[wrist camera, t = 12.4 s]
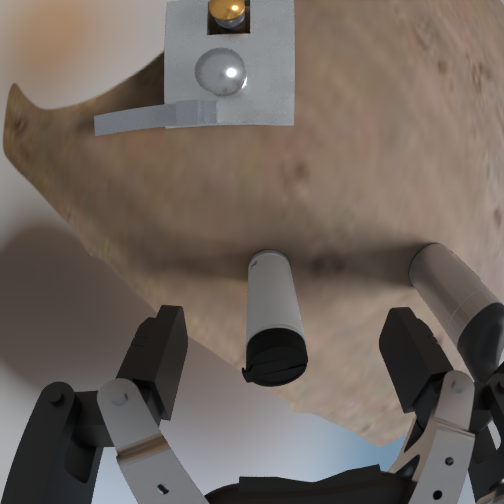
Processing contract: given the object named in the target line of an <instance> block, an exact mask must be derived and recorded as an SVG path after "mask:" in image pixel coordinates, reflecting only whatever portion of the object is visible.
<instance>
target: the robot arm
mask: <svg viewBox="0 0 504 504" xmlns="http://www.w3.org/2000/svg"><path fill="white" fill-rule="evenodd" d="M409 278H410V282H411V283H412V285H413V286H414V287H415V289H416V290H417V291H418V293H419V294H420V296H421V297H422V298H423V300H424V301H425V303H426V304H427V305H428V307H429V308H430V310H431V311H432V312H433V314H434V315H435V317H436V318H437V320H438V321H439V322H440V324H441V325H442V327H443V328H444V330H445V331H446V333H447V334H448V336H449V337H450V339H451V340H452V342H453V344H454V345H455V347H456V348H457V350H458V352H459V353H460V355H461V357H462V358H463V360H464V363H465V365H466V366H467V368H468V370H469V372H470V374H471V375H472V377H473V379H474V381H475V382H473V380H472V379H471V377H470V376H469V375H467V374H466V373H464V372H462V371H459V370H454V369H453V367H452V365H451V364H450V362H449V360H448V358H447V357H446V355H445V353H444V351H443V350H442V348H441V346H440V345H439V344H438V341H437V340H436V338H435V337H434V335H433V333H432V331H431V330H430V328H429V327H428V326H427V325H426V324H425V323H424V322H423V321H422V320H420V319H417V318H416V316H415V315H414V313H413V311H412V310H411V309H410V308H409V307H398V308H391V309H390V311H389V313H388V316H387V318H386V321H385V324H384V327H383V329H382V332H381V335H380V338H379V349H380V352H381V355H382V357H383V359H384V362H385V364H386V367H387V369H388V372H389V374H390V377H391V380H392V382H393V385H394V387H395V390H396V393H397V395H398V398H399V401H400V404H401V406H402V409H403V412H404V414H405V413H409V412H414V411H415V414H416V416H415V417H414V419H413V421H412V424H411V426H410V429H409V432H408V434H407V437H406V439H405V441H404V444H403V446H402V448H401V451H400V453H399V455H398V457H397V459H396V461H395V462H394V463H393V464H392V466H391V467H390V469H389V470H388V472H384V471H381V470H380V466H379V464H377V465H373V466H368V467H363V468H357V469H352V470H347V471H345V472H342V473H339V474H337V475H334V476H331V477H329V478H326V479H323V480H320V481H317V482H304V481H298V480H291V479H285V478H280V477H239V483H236V484H231V485H227V486H223V487H221V488H218V489H216V490H214V491H211V492H210V493H208V494H206V495H205V496H203V494H202V493H201V492H200V490H199V489H198V488H197V486H196V485H195V484H194V482H193V481H192V479H191V478H190V476H189V475H188V473H187V472H186V471H185V469H184V468H183V466H182V465H181V463H180V461H179V460H178V458H177V457H176V455H175V454H174V452H173V450H172V449H171V447H170V446H169V444H168V442H167V441H166V439H165V438H164V436H163V435H162V433H161V431H160V430H159V425H160V421H161V419H163V420H169V421H170V419H171V415H172V411H173V406H174V402H175V398H176V394H177V390H178V385H179V381H180V377H181V373H182V369H183V365H184V361H185V357H186V353H187V348H188V336H187V330H186V324H185V318H184V311H183V308H182V306H171V305H162V306H161V308H160V310H159V312H158V314H157V317H156V318H151V317H148V318H147V319H146V320H145V321H144V322H143V323H142V324H141V325H140V326H139V328H138V330H137V332H136V334H135V338H133V340H132V343H131V346H130V347H129V349H128V352H127V354H126V356H125V358H124V361H123V363H122V365H121V367H120V370H119V372H118V374H117V376H116V378H115V379H112V380H110V381H108V382H106V383H105V384H103V385H102V386H101V388H100V389H99V390H98V391H87V392H74V390H73V389H72V387H71V386H70V385H69V384H67V383H64V382H54V383H51V384H49V385H48V386H46V387H45V388H44V389H43V390H42V392H41V394H40V396H39V398H38V400H37V403H36V405H35V407H34V409H33V412H32V414H31V416H30V418H29V421H28V423H27V426H26V428H25V430H24V433H23V435H22V438H21V441H20V443H19V446H18V449H17V452H16V454H15V457H14V460H13V463H12V466H11V469H10V472H9V475H8V479H7V482H6V485H5V489H4V493H3V496H2V500H1V504H91V502H92V497H93V492H94V487H95V482H96V477H97V473H98V469H99V464H100V460H101V456H102V452H103V448H104V447H115V449H116V451H117V454H118V456H117V457H116V459H117V462H118V465H119V467H120V469H121V471H122V473H123V475H124V477H125V480H126V481H127V483H128V485H129V487H130V489H131V491H132V493H133V495H134V496H135V498H136V500H137V502H138V504H457V502H458V499H459V497H460V494H461V491H462V488H463V484H464V481H465V477H466V474H467V471H468V473H469V477H470V480H471V484H472V489H473V493H474V498H475V503H476V504H504V362H503V363H502V364H501V365H500V366H499V360H500V357H501V353H502V351H503V348H504V305H503V304H502V303H501V302H500V301H499V300H498V298H497V297H496V296H495V295H494V294H493V293H492V292H491V291H490V290H489V289H488V288H487V287H486V286H485V285H484V284H483V283H482V282H481V279H480V278H479V277H478V276H477V275H476V274H475V273H474V272H473V271H472V270H471V269H470V268H469V267H468V266H467V265H466V264H465V263H464V262H463V261H462V260H461V259H460V258H459V257H458V256H457V255H455V254H454V253H453V252H452V251H449V250H448V249H447V248H446V247H445V246H444V245H442V244H431V245H428V246H426V247H425V248H423V249H422V250H421V251H420V252H419V253H418V254H417V255H416V256H415V258H414V259H413V261H412V263H411V266H410V270H409ZM492 420H493V422H494V424H495V425H496V427H497V430H498V432H499V435H500V437H501V444H500V447H499V448H498V449H497V450H496V448H495V445H494V442H493V439H492V436H491V434H490V431H489V429H488V426H487V425H488V424H489V423H490V422H491V421H492Z"/></svg>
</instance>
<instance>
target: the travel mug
mask: <svg viewBox="0 0 504 504" xmlns="http://www.w3.org/2000/svg"><path fill="white" fill-rule="evenodd" d="M307 362H308V356H307V350H306V342H305V337H304V332H303V327H302V322H301V317H300V312H299V307H298V302H297V297H296V292H295V287H294V283H293V278H292V273H291V269H290V264H289V261H288V259H287V257H286V256H285V255H284V254H282V253H281V252H278V251H275V250H264V251H260V252H259V253H257V254H255V255H254V256H253V257H252V258H251V260H250V262H249V265H248V295H247V330H246V370H244V368H242V374H243V377H244V378H245V380H246V382H248V383H249V382H254V383H255V384H258V385H261V386H266V387H274V386H281V385H285V384H288V383H290V382H292V381H294V380H296V379H297V378H299V377H300V376H301V375H302V374H303V373H304V372H305V370H306V367H307Z"/></svg>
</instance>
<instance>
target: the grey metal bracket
mask: <svg viewBox="0 0 504 504" xmlns="http://www.w3.org/2000/svg"><path fill="white" fill-rule="evenodd" d="M209 1H210V0H180V1H173V2H167V9H166V25H165V53H164V104H165V105H156V106H148V107H141V108H135V109H129V110H123V111H117V112H112V113H106V114H102V115H97V116H94V125H95V136H100V135H105V134H111V133H117V132H124V131H131V130H139V129H147V128H156V127H165V129H167V128H179V127H193V126H213V125H284V126H294V85H295V33H294V0H244V3H245V6H250V34H220V35H210V10H209Z"/></svg>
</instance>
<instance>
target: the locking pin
mask: <svg viewBox="0 0 504 504" xmlns="http://www.w3.org/2000/svg"><path fill="white" fill-rule="evenodd" d="M244 9H245V3H244V0H210V1H209V10H210V12H211V14H212V16H213V17H214V19H215V21H216V23H217V26H218V28H219V30H220V33H221V34H246V24H245V14H244Z"/></svg>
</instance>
